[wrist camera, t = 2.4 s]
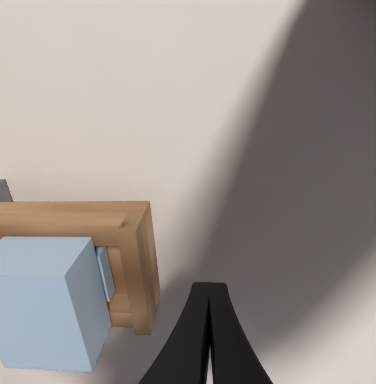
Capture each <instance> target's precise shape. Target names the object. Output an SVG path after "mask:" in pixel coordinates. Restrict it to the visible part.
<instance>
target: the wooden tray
mask: <svg viewBox="0 0 376 384" xmlns="http://www.w3.org/2000/svg"><path fill="white" fill-rule="evenodd" d="M3 237H92V240H93V245H94V246H106V249H107V254H108V259H109V264H110V269H111V274H112V278H113V283H114V288H115V291H114V293H113V295H112V298H111V300H110V302H107V307H108V311H109V315H110V320H111V324H112V325H111V327H134V332H135V334H136V335H151V332H152V327H153V323H154V319H155V314H156V310H157V306H158V301H159V297H160V285H159V276H158V267H157V259H156V250H155V242H154V233H153V225H152V216H151V208H150V201H98V202H13V201H12V198H11V195H10V192H9V189H8V186H7V183H6V180H5V179H1V180H0V239H2V238H3Z"/></svg>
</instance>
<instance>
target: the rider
mask: <svg viewBox="0 0 376 384" xmlns="http://www.w3.org/2000/svg"><path fill="white" fill-rule="evenodd" d="M114 291H115V288H114V283H113V278H112V274H111V269H110V264H109V259H108V254H107V249H106V246H94V245H93V240H92V237H3V238H2V239H0V360H1V362H2V364H3V366H4V368H19V369H37V370H56V371H74V372H93V370H94V368H95V365H96V363H97V360H98V358H99V355H100V353H101V350H102V347H103V345H104V342H105V340H106V337H107V335H108V332H109V330H110V327H111V325H112V324H111V320H110V315H109V311H108V307H107V302H110V300H111V298H112V295H113V293H114Z"/></svg>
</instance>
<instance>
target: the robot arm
mask: <svg viewBox="0 0 376 384" xmlns="http://www.w3.org/2000/svg"><path fill="white" fill-rule="evenodd" d="M210 349H211V361H212V374H213V384H273V383H272V381H271V380H270V378H269V377H268V375H267V373H266V372H265V370H264V368H263V367H262V365H261V363H260V362H259V360H258V358H257V356H256V355H255V353H254V351H253V349H252V347H251V345H250V343H249V341H248V340H247V338H246V336H245V333H244V331H243V329H242V327H241V325H240V323H239V320H238V318H237V316H236V313H235V311H234V308H233V305H232V303H231V300H230V296H229V293H228V289H227V285H226V284H225V283H212V282H195V283H193V284H192V288H191V291H190V294H189V297H188V300H187V302H186V304H185V307H184V309H183V311H182V313H181V315H180V317H179V320H178V322H177V324H176V326H175V328H174V329H173V331H172V333H171V335H170V337H169V338H168V340H167V342H166V344H165V345H164V347H163V349H162V350H161V352H160V353H159V355H158V357H157V358H156V360H155V361H154V363H153V364H152V366H151V367H150V368H149V370H148V371H147V373H146V374H145V375H144V377H143V378H142V380H141V381H140V382H139V384H206V381H207V371H208V360H209V350H210Z"/></svg>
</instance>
